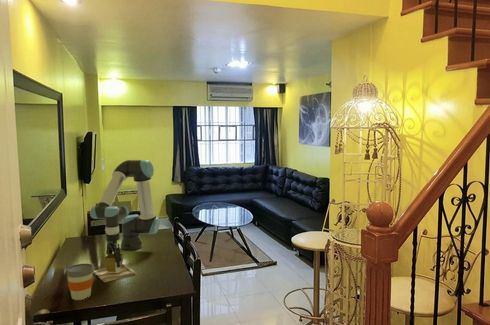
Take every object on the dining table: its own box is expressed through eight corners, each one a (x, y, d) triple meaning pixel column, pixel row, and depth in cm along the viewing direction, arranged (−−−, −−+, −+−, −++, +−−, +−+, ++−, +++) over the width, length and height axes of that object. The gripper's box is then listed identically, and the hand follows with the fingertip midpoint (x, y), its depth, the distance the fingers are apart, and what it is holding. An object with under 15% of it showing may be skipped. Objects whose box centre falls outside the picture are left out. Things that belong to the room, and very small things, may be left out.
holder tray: (93, 273, 227) (93, 270, 227) (123, 266, 238) (123, 263, 238) (104, 282, 213) (104, 279, 213) (135, 274, 224) (135, 271, 224)
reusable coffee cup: (76, 290, 202) (74, 263, 201) (98, 291, 201) (97, 263, 200) (62, 301, 190) (60, 271, 189) (86, 302, 189) (85, 272, 187)
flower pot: (124, 268, 229) (124, 253, 228) (118, 273, 220) (117, 258, 220) (110, 268, 230) (109, 253, 229) (103, 273, 221) (103, 258, 220)
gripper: (99, 230, 230) (101, 265, 232) (113, 238, 212) (115, 277, 214) (111, 228, 235) (113, 262, 237) (126, 236, 216) (128, 273, 218)
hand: (114, 269), depth 225 cm, fingers closed on flower pot, 11 cm apart
